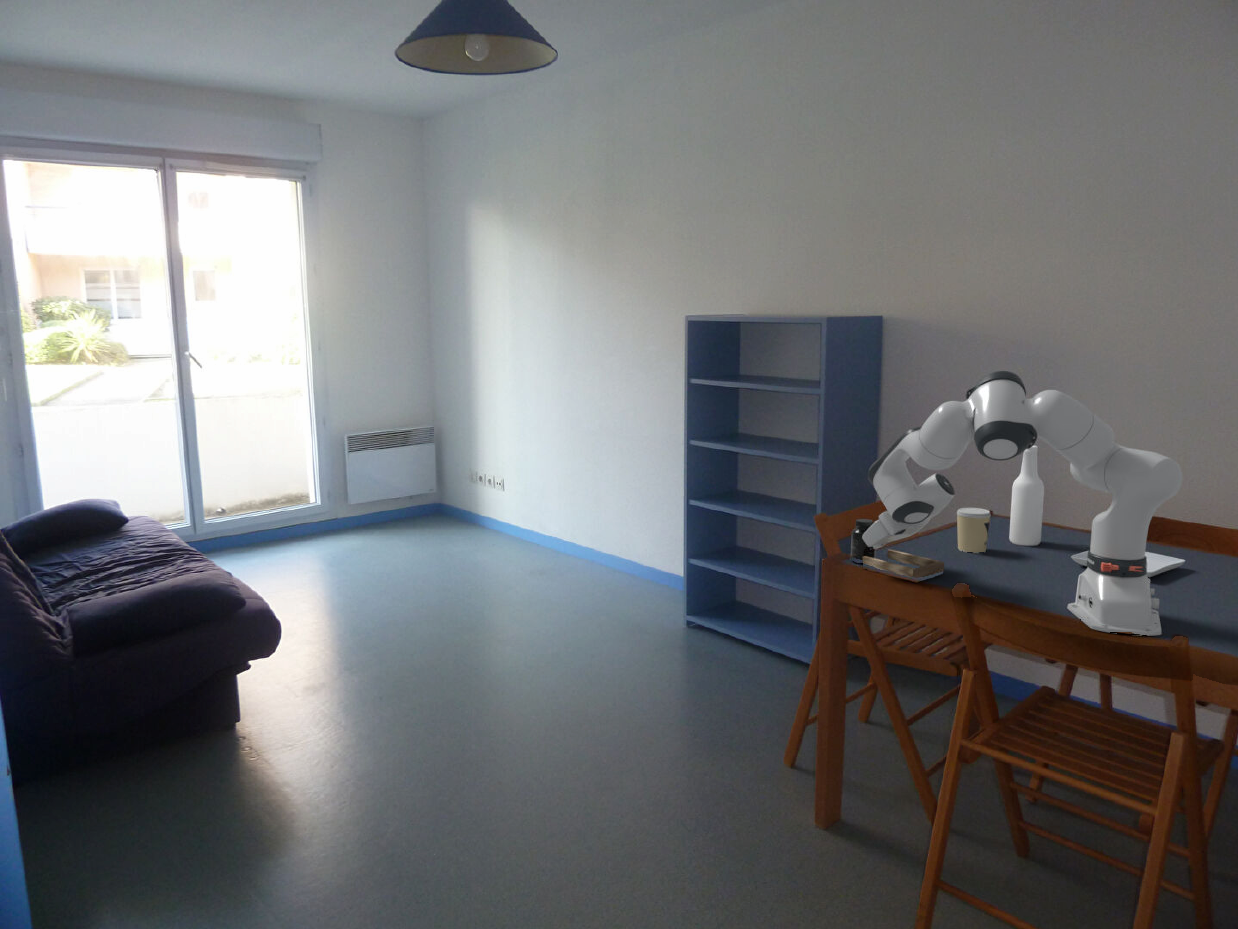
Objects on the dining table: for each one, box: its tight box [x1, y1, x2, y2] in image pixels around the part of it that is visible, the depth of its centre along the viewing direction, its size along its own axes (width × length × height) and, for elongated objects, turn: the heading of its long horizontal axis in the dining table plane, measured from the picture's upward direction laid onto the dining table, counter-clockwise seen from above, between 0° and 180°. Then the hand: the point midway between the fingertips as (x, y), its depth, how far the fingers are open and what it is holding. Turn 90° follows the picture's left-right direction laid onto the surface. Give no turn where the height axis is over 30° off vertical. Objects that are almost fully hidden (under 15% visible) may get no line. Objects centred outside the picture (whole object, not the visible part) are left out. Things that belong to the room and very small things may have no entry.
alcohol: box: [1008, 444, 1045, 547], centre depth 264 cm, size 9×9×30 cm
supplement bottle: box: [850, 518, 877, 560], centre depth 248 cm, size 7×7×12 cm
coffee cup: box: [956, 507, 992, 554], centre depth 258 cm, size 9×9×12 cm
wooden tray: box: [863, 549, 945, 578], centre depth 238 cm, size 17×12×4 cm
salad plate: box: [1070, 550, 1186, 578], centre depth 239 cm, size 21×21×3 cm
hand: (876, 546), depth 245 cm, fingers closed
